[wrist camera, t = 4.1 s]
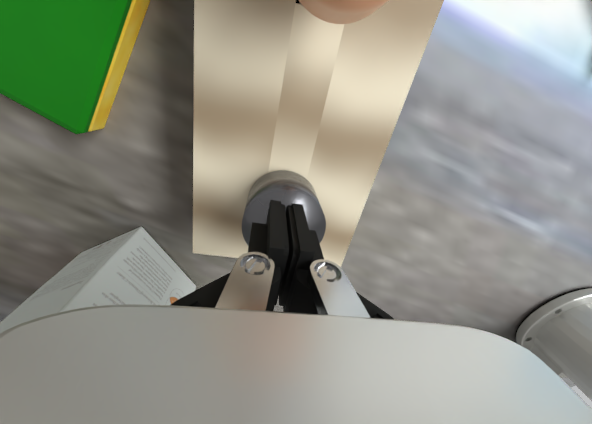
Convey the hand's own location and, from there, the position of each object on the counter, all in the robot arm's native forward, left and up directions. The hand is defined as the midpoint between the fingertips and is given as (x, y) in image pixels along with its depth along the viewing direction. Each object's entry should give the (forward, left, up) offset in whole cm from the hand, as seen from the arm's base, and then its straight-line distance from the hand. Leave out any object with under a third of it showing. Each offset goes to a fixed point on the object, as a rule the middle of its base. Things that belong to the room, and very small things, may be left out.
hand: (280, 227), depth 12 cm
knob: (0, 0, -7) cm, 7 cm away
